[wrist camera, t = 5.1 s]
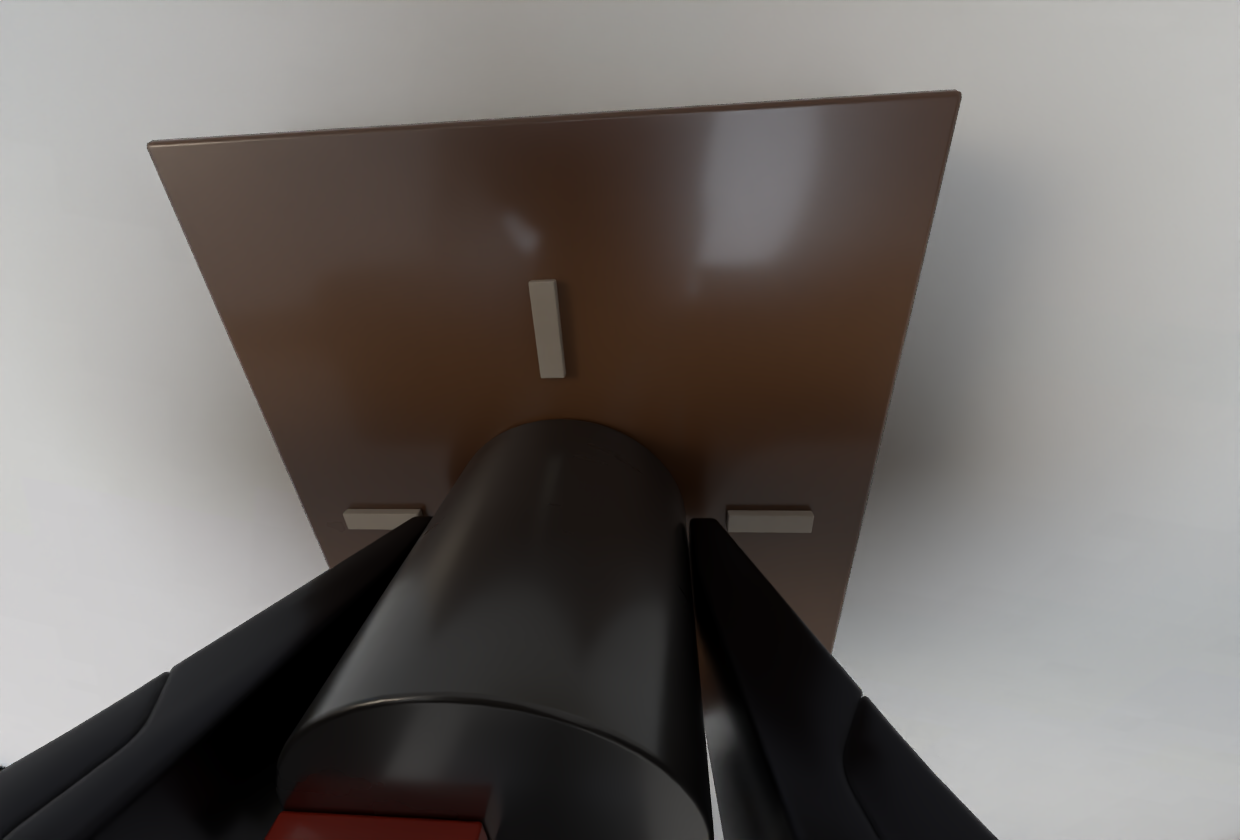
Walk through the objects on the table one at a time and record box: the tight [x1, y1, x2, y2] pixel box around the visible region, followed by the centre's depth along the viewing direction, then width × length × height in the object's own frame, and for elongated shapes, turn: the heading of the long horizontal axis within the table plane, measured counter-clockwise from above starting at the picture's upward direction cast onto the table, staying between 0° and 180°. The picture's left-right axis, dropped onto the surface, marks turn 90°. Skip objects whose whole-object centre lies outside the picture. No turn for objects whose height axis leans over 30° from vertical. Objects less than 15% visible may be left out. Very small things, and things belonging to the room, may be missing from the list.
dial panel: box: [147, 89, 962, 654], centre depth 9 cm, size 12×10×3 cm
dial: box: [264, 419, 714, 840], centre depth 6 cm, size 4×4×5 cm
